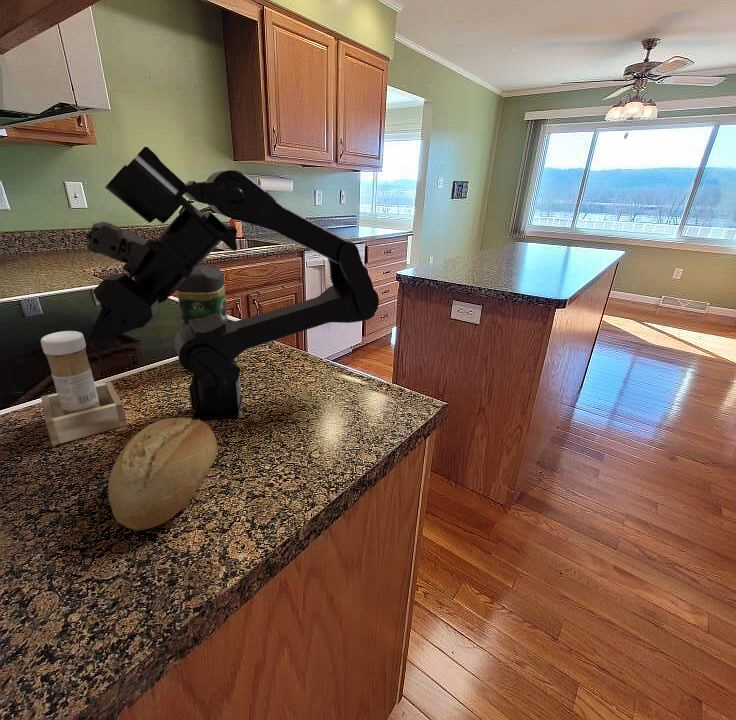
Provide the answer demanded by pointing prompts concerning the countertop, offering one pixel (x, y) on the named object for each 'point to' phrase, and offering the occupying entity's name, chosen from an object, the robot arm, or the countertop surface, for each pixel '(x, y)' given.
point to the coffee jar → (202, 294)
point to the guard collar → (83, 416)
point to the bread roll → (160, 471)
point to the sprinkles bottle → (71, 371)
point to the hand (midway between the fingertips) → (104, 329)
